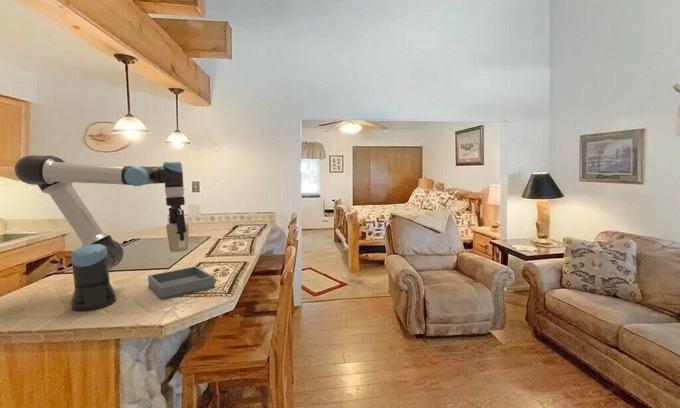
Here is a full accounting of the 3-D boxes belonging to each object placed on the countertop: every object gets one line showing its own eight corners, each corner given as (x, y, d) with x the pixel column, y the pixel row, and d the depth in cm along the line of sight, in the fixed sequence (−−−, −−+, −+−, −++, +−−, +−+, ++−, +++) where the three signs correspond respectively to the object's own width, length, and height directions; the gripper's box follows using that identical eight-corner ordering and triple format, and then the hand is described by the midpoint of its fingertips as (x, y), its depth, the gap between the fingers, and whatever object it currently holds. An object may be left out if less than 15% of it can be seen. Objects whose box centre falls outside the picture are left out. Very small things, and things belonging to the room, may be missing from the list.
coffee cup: (194, 247, 168) (192, 222, 167) (183, 252, 159) (181, 225, 157) (175, 247, 169) (173, 222, 167) (163, 252, 160) (161, 225, 158)
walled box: (162, 299, 150) (161, 288, 149) (148, 286, 167) (147, 275, 167) (214, 287, 164) (213, 276, 163) (196, 275, 182) (196, 266, 181)
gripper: (191, 197, 155) (195, 248, 158) (176, 194, 172) (179, 241, 174) (173, 198, 150) (177, 251, 153) (159, 195, 167) (163, 243, 169)
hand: (178, 245), depth 163 cm, fingers closed on coffee cup, 9 cm apart
